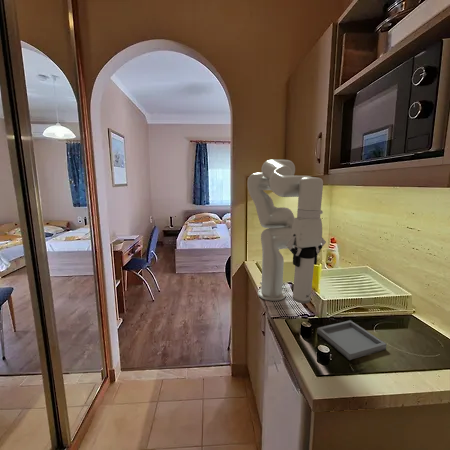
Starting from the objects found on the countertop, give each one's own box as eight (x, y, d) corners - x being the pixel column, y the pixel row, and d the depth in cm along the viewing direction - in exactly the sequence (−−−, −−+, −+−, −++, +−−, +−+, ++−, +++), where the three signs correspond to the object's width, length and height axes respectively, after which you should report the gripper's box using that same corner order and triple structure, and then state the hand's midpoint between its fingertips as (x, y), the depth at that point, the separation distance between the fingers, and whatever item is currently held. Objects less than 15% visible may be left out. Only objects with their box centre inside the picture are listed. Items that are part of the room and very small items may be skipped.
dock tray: (316, 333, 96) (317, 327, 96) (350, 325, 102) (350, 320, 101) (349, 360, 83) (350, 354, 82) (385, 349, 88) (386, 343, 87)
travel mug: (312, 304, 95) (317, 250, 91) (292, 302, 96) (297, 248, 92) (310, 296, 101) (315, 245, 97) (292, 294, 102) (296, 243, 98)
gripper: (322, 211, 98) (317, 258, 102) (280, 213, 93) (277, 263, 96) (337, 214, 92) (331, 265, 95) (293, 217, 86) (289, 271, 90)
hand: (304, 264), depth 96 cm, fingers closed on travel mug, 6 cm apart
